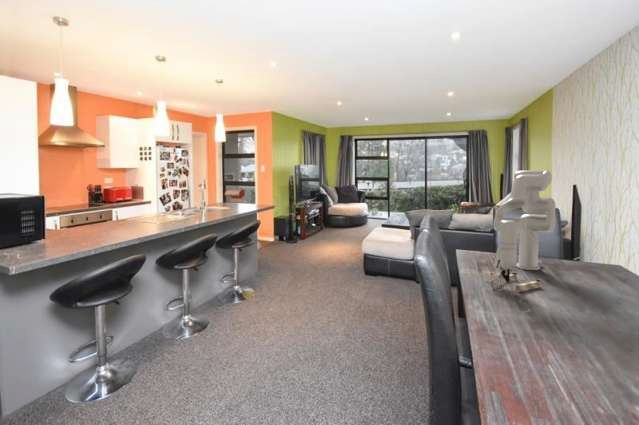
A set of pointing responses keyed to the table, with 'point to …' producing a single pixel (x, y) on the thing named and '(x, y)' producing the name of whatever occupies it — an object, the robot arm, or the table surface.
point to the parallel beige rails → (525, 285)
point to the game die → (497, 281)
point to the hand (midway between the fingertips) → (505, 282)
